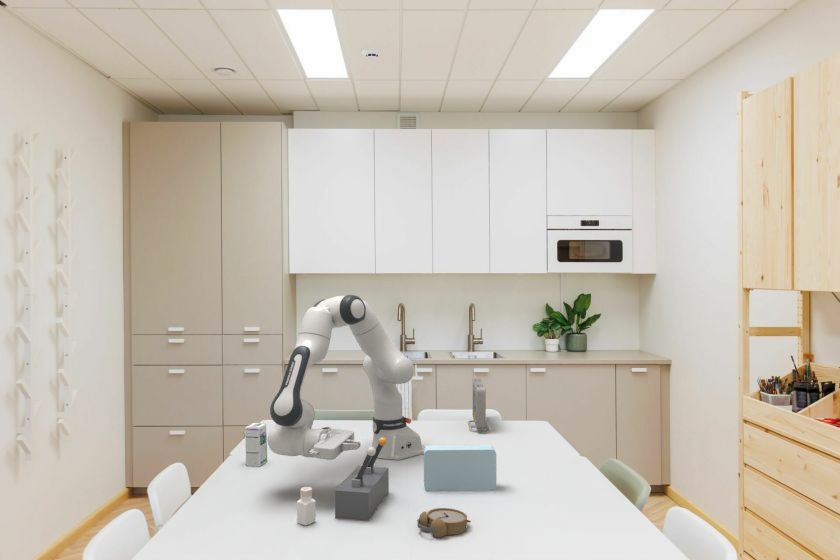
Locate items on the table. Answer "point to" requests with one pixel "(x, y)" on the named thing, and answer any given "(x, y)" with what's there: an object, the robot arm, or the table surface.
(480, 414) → the network device
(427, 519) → the alarm clock
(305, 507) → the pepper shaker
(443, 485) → the light blue rounded box
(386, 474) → the switch box
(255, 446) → the syrup box
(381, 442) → the orange lever
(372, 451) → the grey lever
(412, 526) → the table surface
